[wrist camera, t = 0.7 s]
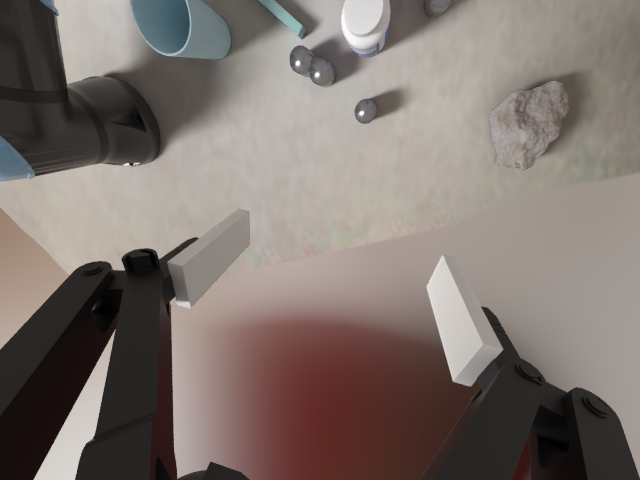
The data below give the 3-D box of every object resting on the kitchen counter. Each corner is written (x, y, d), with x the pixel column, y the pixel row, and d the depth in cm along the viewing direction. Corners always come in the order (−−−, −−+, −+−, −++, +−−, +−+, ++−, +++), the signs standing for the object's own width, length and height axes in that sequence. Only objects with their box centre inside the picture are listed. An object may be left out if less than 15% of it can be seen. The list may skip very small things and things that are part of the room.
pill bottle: (367, -5, 30) (363, -49, 22) (397, 27, 31) (405, -3, 23) (339, 39, 33) (326, 16, 24) (368, 68, 34) (364, 55, 25)
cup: (189, 56, 38) (131, 39, 29) (193, -7, 34) (127, -49, 25) (232, 76, 38) (188, 66, 29) (241, 16, 34) (193, -18, 25)
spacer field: (283, 58, 35) (273, 53, 32) (367, -116, 26) (365, -150, 22) (365, 129, 37) (364, 131, 34) (469, -8, 28) (482, -24, 25)
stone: (560, 77, 30) (597, 71, 25) (544, 156, 34) (573, 165, 29) (487, 94, 32) (507, 93, 27) (481, 167, 37) (498, 177, 32)
